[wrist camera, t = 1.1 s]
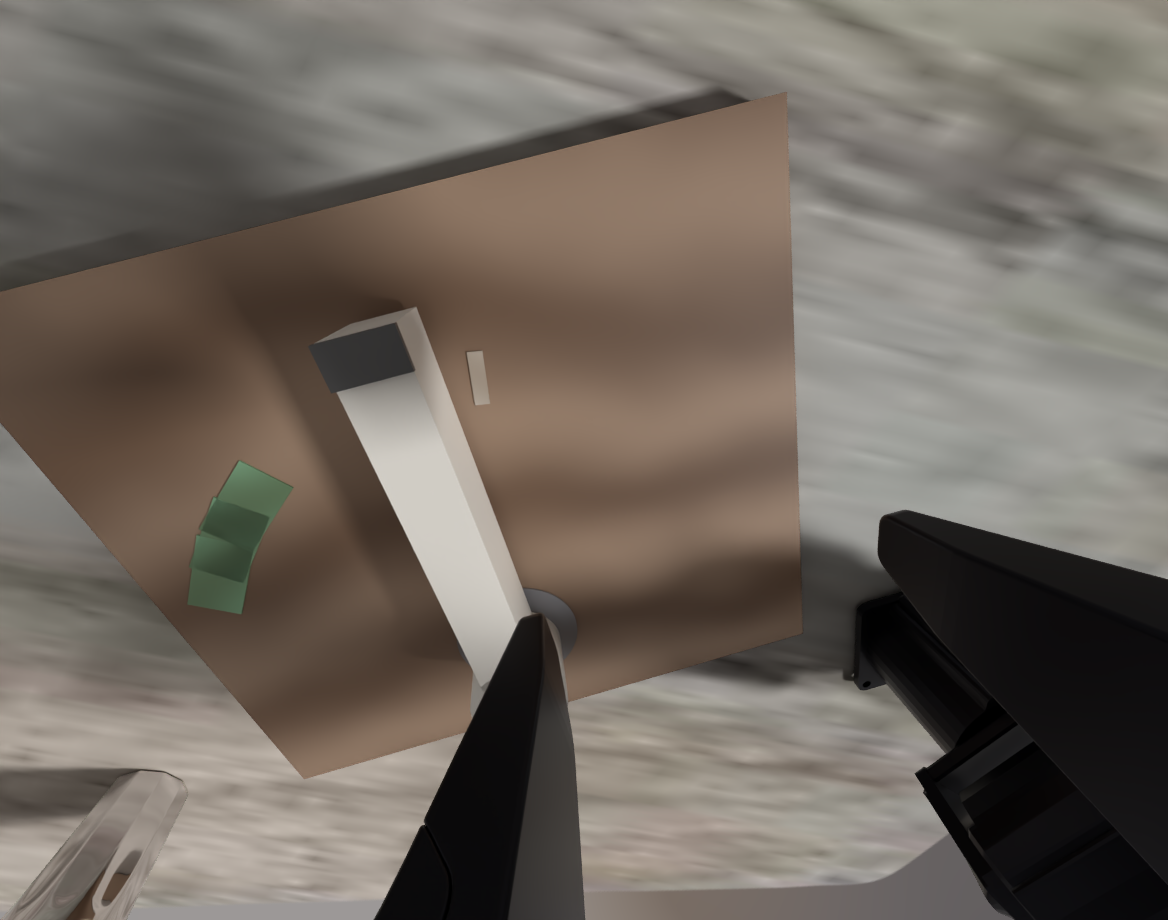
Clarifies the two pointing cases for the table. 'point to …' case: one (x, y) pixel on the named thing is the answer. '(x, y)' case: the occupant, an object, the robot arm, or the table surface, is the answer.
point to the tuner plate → (485, 411)
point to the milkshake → (107, 853)
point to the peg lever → (430, 480)
